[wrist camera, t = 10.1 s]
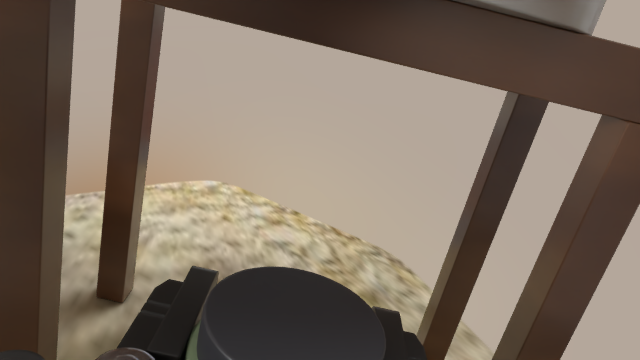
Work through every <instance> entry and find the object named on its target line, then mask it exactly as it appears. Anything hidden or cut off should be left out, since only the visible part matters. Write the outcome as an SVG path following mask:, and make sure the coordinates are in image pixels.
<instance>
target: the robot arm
mask: <svg viewBox="0 0 640 360" xmlns="http://www.w3.org/2000/svg"><path fill="white" fill-rule="evenodd" d="M218 274H219V272H218V271H214V270H210V269H205V268H201V267H196V266H192V267H191V269H190V271H189V273H188V275H187V276H186V278H185V280H184V282H180V281H175V280H171V279H168V280H167V281H165V282H164V283H162V284H161V285H159V286H157V287H156V288H155V289H154V290H153V292H152V293H151V295H150V297H149V298H148V300H147V303H145V304H144V306H143V308H142V309H141V312H140V313H139V314H138V315H137V317H136V319H135V320H134V322H133V323H132V325H131V326H130V328H129V330H128V331H127V333H126V334H125V336H124V337H123V339H122V341H121V342H120V344H119V345H118V347H117V349H113V350H110V351H108V352H105V353H104V354H102V355H100V356H99V357H98V358H97V359H96V360H184V358H185V353H186V347H187V343H188V341H189V338H190V335H191V333H192V331H193V329H194V327H195V326H196V325H197V324H198V322H199V321H200V320H201V317H202V311H203V306H204V303H205V300H206V298H207V296H208V295H209V293H210V291H211V290H212V289H213V288H214V287H215V286H216V285H217V281H218ZM372 310H373V311H374V313H375V314H376V315H377V317H378V319H379V320H380V322H381V324H382V327H383V329H384V333H385V338H386V350H385V355H384V358H383V360H427V357H426V353H425V348H424V346H423V345H422V344H421V342H420V341H419V340H418V338H417V337H416V335H415V334H414V333H410V332H405V331H403V328H402V323H401V318H400V313H399V312H397V311H393V310H388V309H384V308H379V307H375V306H373V307H372ZM0 360H45V359H44V358H43V357H42V356H41V355H39V354H38V353H35V352H32V351H28V350H7V351H3V352H0Z"/></svg>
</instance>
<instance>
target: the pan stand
mask: <svg viewBox="0 0 640 360" xmlns="http://www.w3.org/2000/svg"><path fill="white" fill-rule="evenodd" d="M75 2H76V0H0V352H3V351H7V350H28V351H32V352H35V353H38V354H39V355H41V356H42V357H43V358H44V359H45V360H56V359H57V341H58V322H59V303H60V284H61V265H62V247H63V228H64V209H65V189H66V171H67V153H68V134H69V115H70V95H71V77H72V76H71V75H72V59H73V40H74V21H75V20H74V19H75ZM605 2H606V0H121V11H120V25H119V35H118V47H117V59H116V71H115V82H114V94H113V106H112V118H111V129H110V141H109V153H108V165H107V177H106V189H105V200H104V212H103V224H102V236H101V248H100V259H99V271H98V283H97V295H96V297H98V298H102V299H107V300H112V301H116V302H121V303H123V301H124V300H125V298H126V297H127V296H128V294H129V293H130V291H131V290H132V288H133V282H134V273H135V264H136V256H137V247H138V238H139V230H140V221H141V212H142V203H143V195H144V186H145V177H146V168H147V160H148V151H149V142H150V134H151V125H152V117H153V107H154V99H155V90H156V82H157V72H158V65H159V56H160V47H161V38H162V30H163V21H164V12H165V7H168V8H172V9H176V10H180V11H185V12H188V13H193V14H196V15H200V16H204V17H209V18H213V19H217V20H221V21H225V22H229V23H233V24H237V25H241V26H245V27H249V28H253V29H257V30H261V31H265V32H269V33H273V34H277V35H281V36H286V37H290V38H294V39H298V40H302V41H306V42H310V43H314V44H318V45H323V46H326V47H331V48H334V49H339V50H342V51H347V52H351V53H355V54H358V55H363V56H367V57H371V58H375V59H379V60H383V61H387V62H391V63H395V64H399V65H403V66H407V67H411V68H416V69H419V70H424V71H428V72H431V73H435V74H440V75H444V76H448V77H452V78H456V79H460V80H464V81H468V82H472V83H476V84H480V85H484V86H489V87H492V88H497V89H501V90H505V91H508V92H507V95H506V97H505V100H504V103H503V105H502V108H501V111H500V113H499V116H498V119H497V121H496V124H495V127H494V129H493V132H492V135H491V138H490V140H489V143H488V146H487V148H486V151H485V154H484V156H483V159H482V162H481V164H480V167H479V170H478V172H477V175H476V178H475V181H474V183H473V186H472V189H471V191H470V194H469V197H468V199H467V202H466V205H465V207H464V210H463V213H462V215H461V218H460V221H459V223H458V226H457V229H456V231H455V234H454V237H453V239H452V242H451V245H450V247H449V250H448V253H447V255H446V258H445V261H444V263H443V266H442V269H441V271H440V274H439V277H438V280H437V282H436V285H435V288H434V290H433V293H432V296H431V298H430V301H429V304H428V306H427V309H426V312H425V314H424V317H423V320H422V322H421V325H420V328H419V330H418V333H417V336H416V337H417V338H418V340H419V341H420V342H421V344H422V345H423V346H424V348H425V353H426V357H427V360H444V359H445V356H446V354H447V351H448V349H449V346H450V344H451V341H452V339H453V337H454V334H455V332H456V329H457V327H458V324H459V322H460V319H461V317H462V314H463V312H464V310H465V307H466V304H467V302H468V300H469V297H470V294H471V292H472V290H473V287H474V285H475V282H476V280H477V278H478V275H479V272H480V270H481V268H482V265H483V263H484V260H485V258H486V255H487V253H488V250H489V248H490V245H491V243H492V240H493V238H494V236H495V233H496V231H497V228H498V226H499V223H500V221H501V219H502V216H503V213H504V211H505V209H506V206H507V204H508V201H509V198H510V196H511V194H512V191H513V189H514V187H515V184H516V182H517V179H518V176H519V174H520V172H521V169H522V167H523V164H524V162H525V159H526V157H527V154H528V152H529V150H530V147H531V145H532V142H533V140H534V137H535V135H536V132H537V130H538V127H539V125H540V123H541V120H542V118H543V115H544V113H545V110H546V108H547V105H548V103H549V102H553V103H557V104H561V105H566V106H570V107H573V108H577V109H581V110H586V111H590V112H594V113H598V114H602V116H601V119H600V121H599V123H598V125H597V127H596V130H595V132H594V134H593V136H592V139H591V141H590V143H589V146H588V148H587V150H586V152H585V154H584V156H583V159H582V161H581V163H580V165H579V167H578V170H577V172H576V174H575V177H574V179H573V181H572V183H571V185H570V187H569V190H568V192H567V194H566V196H565V198H564V201H563V203H562V205H561V207H560V210H559V212H558V214H557V216H556V218H555V221H554V223H553V225H552V227H551V230H550V232H549V234H548V236H547V238H546V241H545V243H544V245H543V247H542V250H541V252H540V254H539V256H538V259H537V261H536V263H535V265H534V268H533V270H532V272H531V274H530V276H529V279H528V281H527V283H526V285H525V287H524V290H523V292H522V294H521V296H520V299H519V301H518V303H517V305H516V308H515V310H514V312H513V314H512V316H511V318H510V321H509V323H508V325H507V327H506V330H505V332H504V334H503V336H502V339H501V341H500V343H499V345H498V347H497V350H496V352H495V354H494V356H493V358H492V360H560V358H561V357H562V355H563V353H564V351H565V349H566V347H567V345H568V343H569V341H570V339H571V337H572V335H573V333H574V331H575V329H576V327H577V325H578V323H579V321H580V319H581V317H582V315H583V313H584V312H585V309H586V307H587V306H588V304H589V302H590V300H591V298H592V296H593V294H594V292H595V290H596V288H597V286H598V284H599V282H600V280H601V278H602V276H603V275H604V273H605V271H606V268H607V267H608V265H609V263H610V261H611V259H612V257H613V255H614V253H615V251H616V249H617V247H618V245H619V243H620V241H621V239H622V237H623V235H624V234H625V232H626V229H627V228H628V226H629V224H630V222H631V220H632V218H633V216H634V214H635V212H636V210H637V208H638V206H639V204H640V48H637V47H633V46H630V45H626V44H621V43H617V42H614V41H610V40H606V39H602V38H598V37H594V36H592V33H593V31H594V28H595V26H596V24H597V21H598V19H599V16H600V14H601V11H602V9H603V7H604V4H605Z"/></svg>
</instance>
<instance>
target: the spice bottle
mask: <svg viewBox="0 0 640 360" xmlns="http://www.w3.org/2000/svg"><path fill="white" fill-rule="evenodd" d="M385 350H386V338H385V333H384V329H383V327H382V324H381V322H380V320H379V319H378V317H377V315H376V314H375V313H374V311H373V310H372V309H371V307H370V306H369V305H368V304H367V303H366V302H365V301H364V300H363V299H361V298H360V297H359V296H358V295H357V294H355V293H354V292H352V291H351V290H350V289H348V288H346V287H345V286H343V285H341V284H339V283H337V282H335V281H333V280H331V279H329V278H326V277H324V276H321V275H318V274H315V273H312V272H308V271H304V270H300V269H294V268H287V267H258V268H252V269H247V270H243V271H240V272H237V273H234V274H232V275H230V276H228V277H226V278H225V279H223V280H222V281H220V282H219V283H218V284H217V285H216V286H215V287H214V288H213V289H212V290H211V291H210V293H209V295H208V296H207V298H206V300H205V303H204V306H203V311H202V317H201V320H200V321H199V322H198V324H197V325H196V326H195V327H194V329H193V331H192V333H191V335H190V338H189V341H188V343H187V347H186V353H185V358H184V360H383V358H384V355H385Z"/></svg>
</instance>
